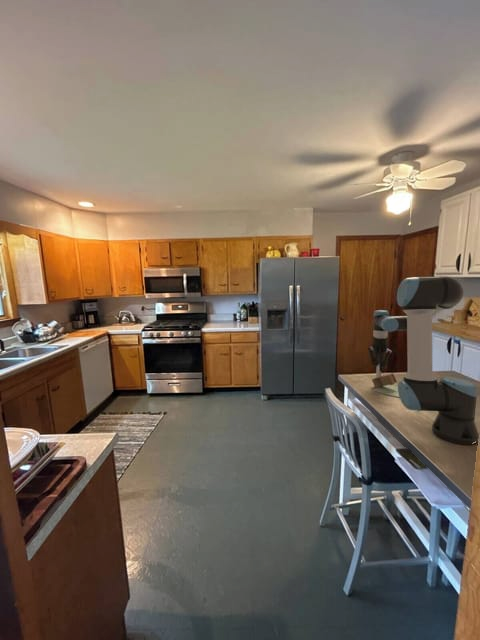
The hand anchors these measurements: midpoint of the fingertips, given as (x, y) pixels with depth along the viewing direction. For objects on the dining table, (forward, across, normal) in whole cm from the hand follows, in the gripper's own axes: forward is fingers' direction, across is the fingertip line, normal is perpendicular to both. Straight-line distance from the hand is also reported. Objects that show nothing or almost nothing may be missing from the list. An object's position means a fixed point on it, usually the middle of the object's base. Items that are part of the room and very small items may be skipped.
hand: (378, 376), depth 166 cm
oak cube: (+7, 0, -12) cm, 14 cm away
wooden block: (+4, +2, 0) cm, 5 cm away
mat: (+7, -7, 0) cm, 10 cm away
